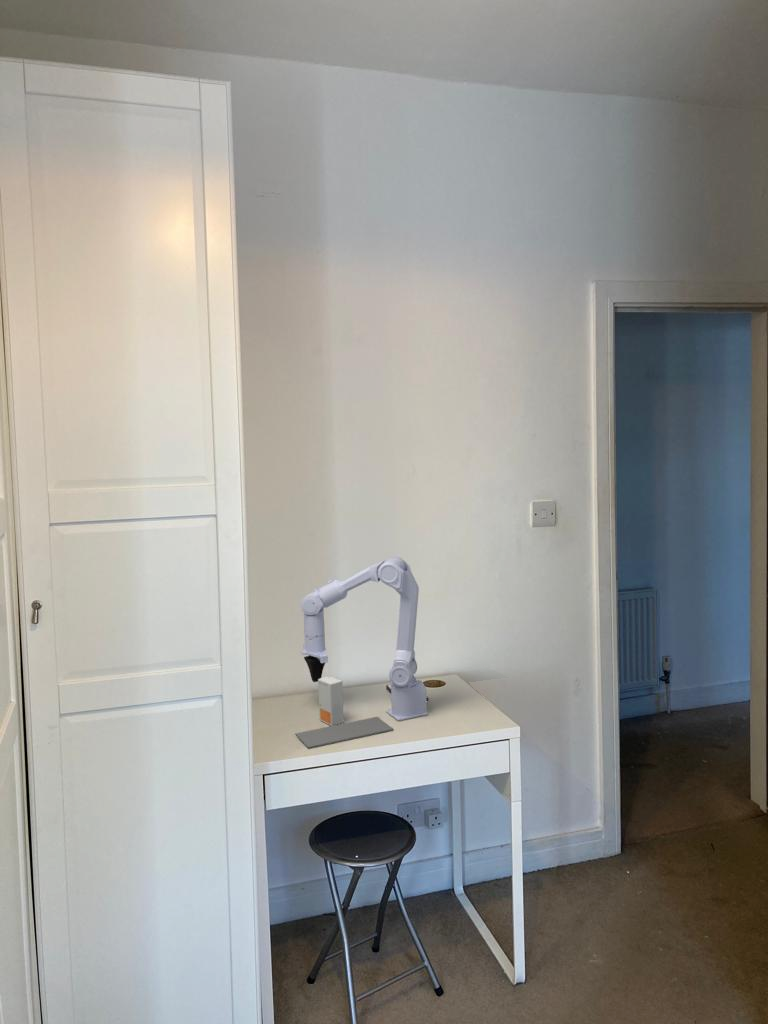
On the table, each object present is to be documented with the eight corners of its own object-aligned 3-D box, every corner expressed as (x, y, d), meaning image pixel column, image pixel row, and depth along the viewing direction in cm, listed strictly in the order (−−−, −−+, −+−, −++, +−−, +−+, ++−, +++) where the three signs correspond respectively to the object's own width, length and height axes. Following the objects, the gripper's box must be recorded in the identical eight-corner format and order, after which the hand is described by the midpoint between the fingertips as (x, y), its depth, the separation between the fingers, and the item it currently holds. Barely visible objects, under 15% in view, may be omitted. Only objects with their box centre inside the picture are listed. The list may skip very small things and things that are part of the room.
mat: (377, 718, 215) (377, 716, 215) (393, 730, 206) (393, 728, 206) (295, 735, 205) (295, 733, 205) (308, 749, 196) (308, 747, 196)
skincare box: (318, 720, 215) (317, 678, 213) (331, 716, 217) (329, 675, 216) (331, 727, 210) (330, 684, 209) (344, 722, 213) (343, 680, 211)
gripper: (292, 630, 226) (294, 676, 227) (310, 642, 213) (312, 690, 214) (315, 627, 229) (317, 672, 230) (334, 639, 216) (335, 686, 217)
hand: (316, 681), depth 223 cm, fingers closed
